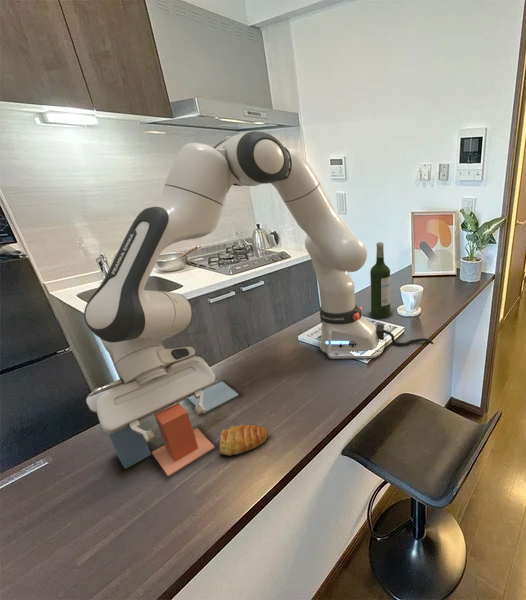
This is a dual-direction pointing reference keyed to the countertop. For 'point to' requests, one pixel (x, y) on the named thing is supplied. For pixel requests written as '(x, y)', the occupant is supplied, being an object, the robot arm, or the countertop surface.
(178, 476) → the countertop surface
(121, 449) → the blue block
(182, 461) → the terracotta mat
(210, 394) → the blue mat
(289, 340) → the countertop surface
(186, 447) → the terracotta block
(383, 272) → the wine bottle
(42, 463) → the countertop surface
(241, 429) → the pastry
